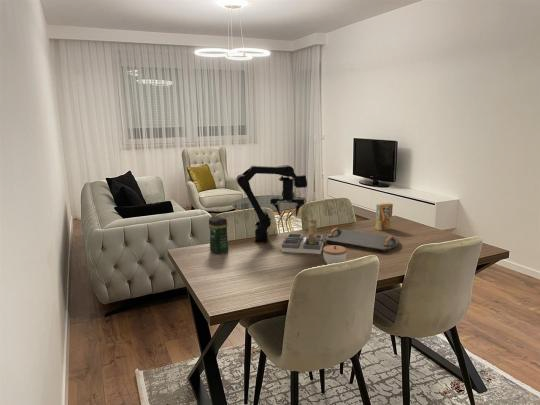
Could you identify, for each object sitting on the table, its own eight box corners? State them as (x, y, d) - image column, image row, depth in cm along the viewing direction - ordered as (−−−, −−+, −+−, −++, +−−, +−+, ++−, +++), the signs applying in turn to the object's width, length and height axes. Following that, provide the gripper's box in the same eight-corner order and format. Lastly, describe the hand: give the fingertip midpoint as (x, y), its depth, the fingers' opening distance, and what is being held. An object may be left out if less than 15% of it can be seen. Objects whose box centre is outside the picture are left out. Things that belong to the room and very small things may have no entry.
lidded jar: (318, 265, 193) (318, 245, 191) (331, 258, 201) (331, 240, 199) (337, 270, 186) (338, 250, 184) (350, 264, 194) (351, 245, 192)
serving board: (319, 243, 226) (319, 232, 224) (337, 232, 245) (337, 222, 243) (390, 256, 205) (390, 244, 203) (403, 243, 224) (404, 232, 222)
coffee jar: (231, 252, 212) (229, 217, 208) (217, 256, 207) (216, 220, 203) (220, 248, 220) (219, 213, 216) (207, 251, 215) (206, 216, 211)
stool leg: (309, 248, 211) (309, 221, 207) (307, 245, 214) (307, 219, 211) (317, 247, 211) (317, 221, 208) (315, 245, 215) (315, 219, 212)
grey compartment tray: (281, 251, 212) (281, 244, 211) (287, 239, 231) (287, 232, 230) (320, 253, 208) (320, 246, 207) (323, 241, 227) (324, 234, 226)
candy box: (387, 227, 253) (388, 202, 249) (391, 228, 249) (393, 203, 246) (375, 228, 250) (376, 203, 246) (379, 230, 246) (380, 205, 243)
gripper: (306, 186, 233) (306, 213, 237) (274, 185, 237) (274, 212, 241) (304, 189, 223) (304, 218, 226) (269, 189, 226) (270, 216, 230)
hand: (288, 216), depth 231 cm, fingers open, 9 cm apart
